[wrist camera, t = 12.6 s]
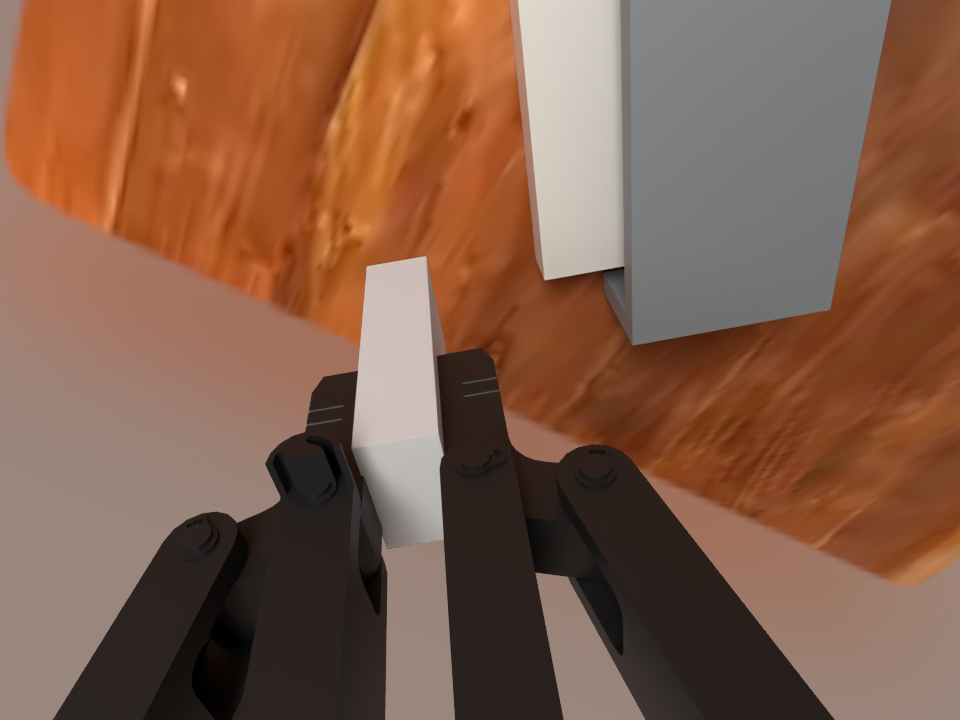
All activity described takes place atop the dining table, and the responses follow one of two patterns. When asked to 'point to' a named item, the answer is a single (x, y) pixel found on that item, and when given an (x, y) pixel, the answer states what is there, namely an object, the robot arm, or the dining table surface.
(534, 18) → the pale grey flat slab
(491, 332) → the dining table surface
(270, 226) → the dining table surface
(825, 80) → the low overhang
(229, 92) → the dining table surface
